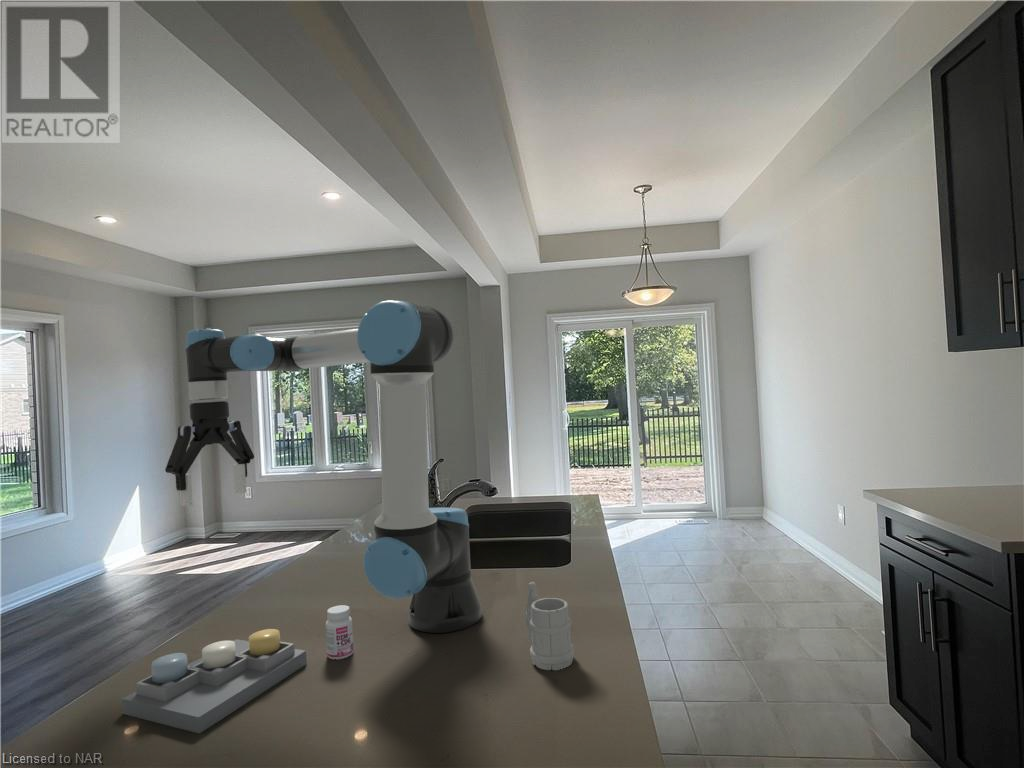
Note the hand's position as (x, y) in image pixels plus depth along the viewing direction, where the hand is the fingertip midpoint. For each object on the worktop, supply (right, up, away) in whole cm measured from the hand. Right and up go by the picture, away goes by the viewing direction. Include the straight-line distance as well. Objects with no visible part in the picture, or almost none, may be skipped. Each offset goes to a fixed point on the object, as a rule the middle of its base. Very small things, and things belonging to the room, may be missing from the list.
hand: (214, 499), depth 128 cm
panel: (+15, -26, -29) cm, 42 cm away
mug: (+71, -23, -24) cm, 78 cm away
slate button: (+9, -22, -33) cm, 40 cm away
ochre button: (+21, -21, -25) cm, 39 cm away
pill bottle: (+33, -25, -18) cm, 45 cm away
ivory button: (+15, -22, -29) cm, 39 cm away
